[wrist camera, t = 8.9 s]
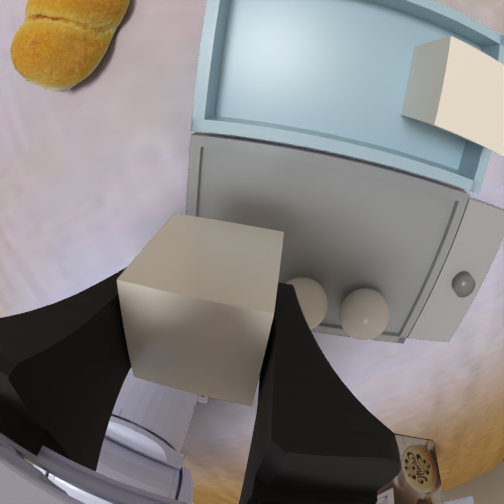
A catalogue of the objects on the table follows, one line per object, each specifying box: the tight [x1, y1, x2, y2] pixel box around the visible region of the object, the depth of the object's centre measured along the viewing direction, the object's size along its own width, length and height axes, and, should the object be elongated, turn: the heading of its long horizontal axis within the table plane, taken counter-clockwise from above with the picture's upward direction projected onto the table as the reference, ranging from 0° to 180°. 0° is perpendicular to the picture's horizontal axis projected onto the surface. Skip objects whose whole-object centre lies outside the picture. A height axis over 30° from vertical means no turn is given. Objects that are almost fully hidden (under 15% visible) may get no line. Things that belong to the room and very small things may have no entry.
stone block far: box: [401, 36, 504, 156], centre depth 11 cm, size 4×4×4 cm
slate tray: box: [186, 132, 504, 343], centre depth 18 cm, size 12×20×1 cm, turn 83°
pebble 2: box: [339, 288, 390, 340], centre depth 18 cm, size 3×3×3 cm
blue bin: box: [191, 0, 504, 194], centre depth 12 cm, size 9×15×2 cm, turn 83°
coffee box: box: [377, 435, 444, 504], centre depth 23 cm, size 9×6×16 cm
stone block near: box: [117, 213, 284, 406], centre depth 10 cm, size 4×4×4 cm
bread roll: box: [11, 0, 130, 92], centre depth 12 cm, size 8×9×4 cm
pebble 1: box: [285, 277, 329, 329], centre depth 18 cm, size 3×3×3 cm
